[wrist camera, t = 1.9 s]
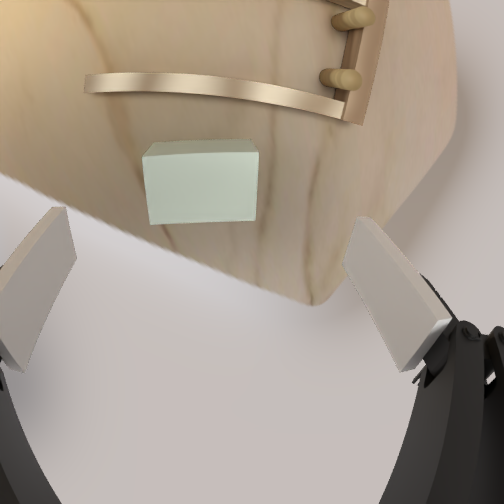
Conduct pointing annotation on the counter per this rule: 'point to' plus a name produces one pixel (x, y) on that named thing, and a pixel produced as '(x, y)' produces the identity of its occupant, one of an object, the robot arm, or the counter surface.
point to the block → (201, 181)
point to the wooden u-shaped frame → (344, 80)
